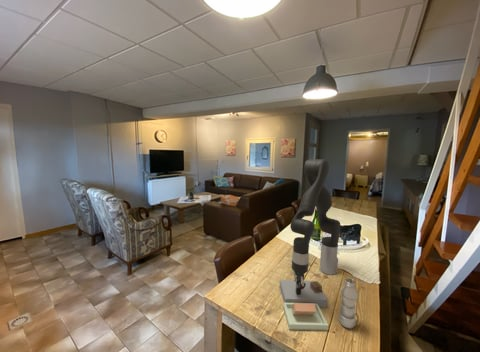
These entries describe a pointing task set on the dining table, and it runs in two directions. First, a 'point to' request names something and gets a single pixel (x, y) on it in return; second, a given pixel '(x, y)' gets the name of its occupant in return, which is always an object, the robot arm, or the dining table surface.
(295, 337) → the dining table surface
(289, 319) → the tray
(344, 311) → the plastic bottle
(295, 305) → the terracotta tile
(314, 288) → the walnut block
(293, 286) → the grey slab
